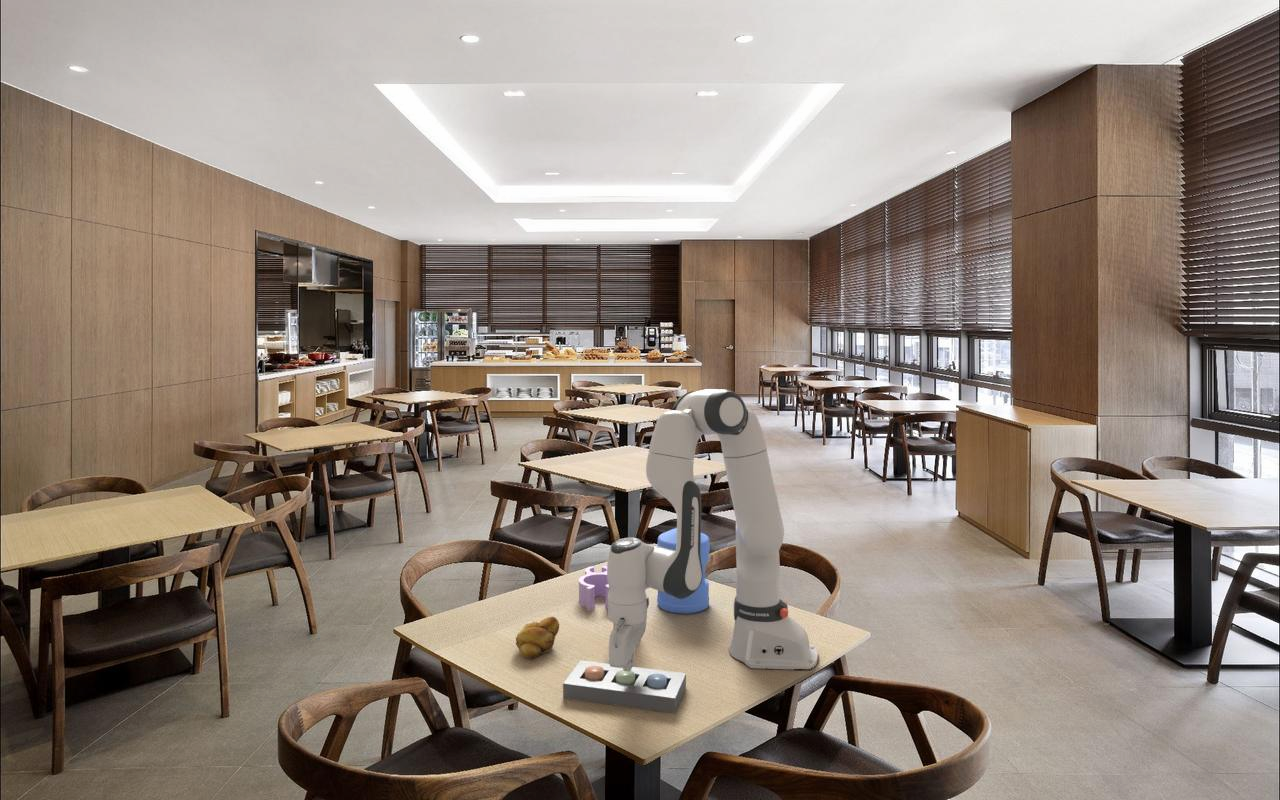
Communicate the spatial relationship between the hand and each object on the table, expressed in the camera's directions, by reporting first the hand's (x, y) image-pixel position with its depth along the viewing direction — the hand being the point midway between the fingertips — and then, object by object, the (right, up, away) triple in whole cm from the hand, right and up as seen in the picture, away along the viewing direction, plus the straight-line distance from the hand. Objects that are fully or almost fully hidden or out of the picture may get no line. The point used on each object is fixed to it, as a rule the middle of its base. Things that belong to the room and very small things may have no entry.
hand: (628, 668), depth 173 cm
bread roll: (-25, -4, +23) cm, 34 cm away
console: (-1, -6, +1) cm, 6 cm away
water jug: (+16, 0, +54) cm, 57 cm away
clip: (-10, 0, +60) cm, 61 cm away
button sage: (-1, -4, +1) cm, 4 cm away
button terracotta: (-8, -4, +3) cm, 9 cm away
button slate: (+6, -4, -1) cm, 8 cm away
